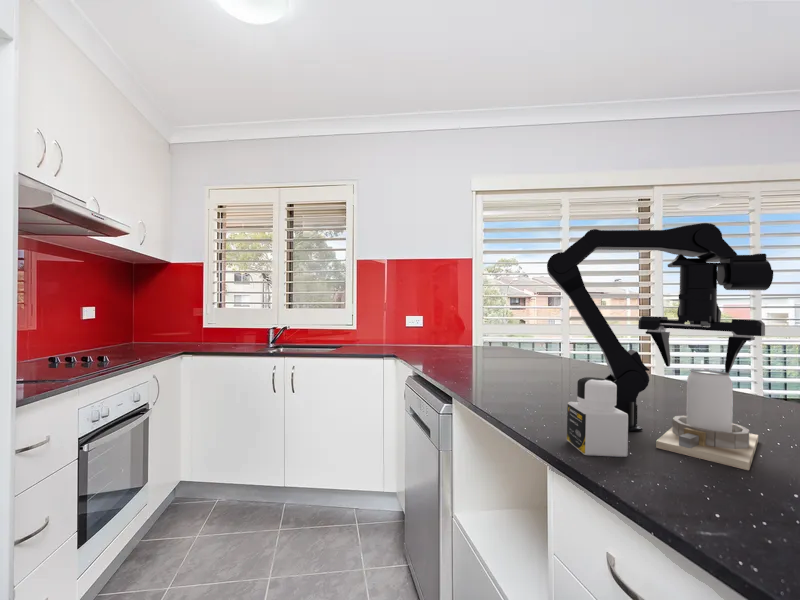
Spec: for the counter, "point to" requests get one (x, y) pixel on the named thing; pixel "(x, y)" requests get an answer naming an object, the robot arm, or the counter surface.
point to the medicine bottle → (597, 419)
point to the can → (710, 400)
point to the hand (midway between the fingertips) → (696, 369)
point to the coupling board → (710, 443)
